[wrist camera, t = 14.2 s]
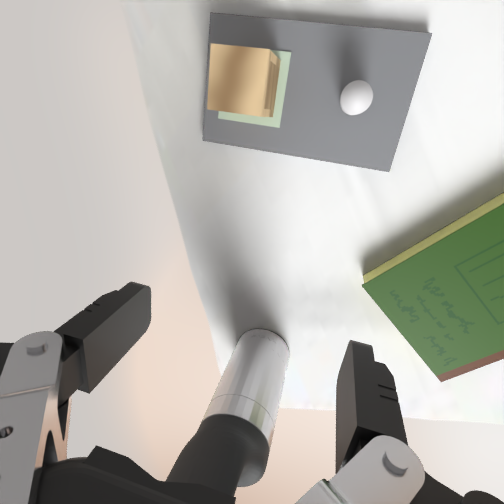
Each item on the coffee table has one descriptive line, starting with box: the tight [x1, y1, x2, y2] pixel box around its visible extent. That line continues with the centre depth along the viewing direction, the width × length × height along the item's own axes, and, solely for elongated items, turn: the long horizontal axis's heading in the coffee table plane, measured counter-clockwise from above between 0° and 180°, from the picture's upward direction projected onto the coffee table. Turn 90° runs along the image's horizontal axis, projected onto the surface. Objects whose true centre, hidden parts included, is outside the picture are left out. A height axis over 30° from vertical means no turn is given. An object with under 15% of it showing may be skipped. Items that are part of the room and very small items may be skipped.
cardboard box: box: [207, 43, 281, 117], centre depth 35 cm, size 6×6×6 cm
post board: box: [203, 13, 432, 172], centre depth 35 cm, size 14×24×8 cm, turn 83°
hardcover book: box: [362, 192, 504, 382], centre depth 40 cm, size 25×19×4 cm
